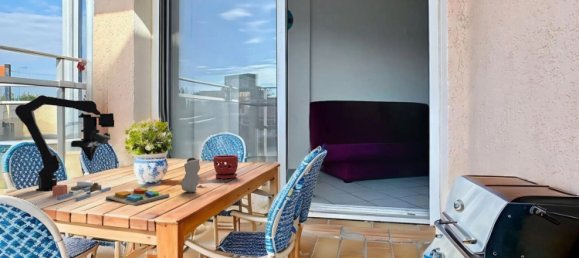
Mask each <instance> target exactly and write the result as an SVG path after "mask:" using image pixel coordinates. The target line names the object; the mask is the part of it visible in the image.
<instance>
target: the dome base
mask: <svg viewBox="0 0 579 258" xmlns="http://www.w3.org/2000/svg"><path fill="white" fill-rule="evenodd" d="M87 187H90V186H87ZM87 187H78V186H77V185H74V186H71V187H70V190H75V191H78V190H80V188H87Z"/></svg>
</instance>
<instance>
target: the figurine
mask: <svg viewBox="0 0 579 258" xmlns="http://www.w3.org/2000/svg"><path fill="white" fill-rule="evenodd" d="M183 165H184V167H183V168H184V171H185V174H184V177H183V178H182V180H181V183H180V184H181V186H180V187H181V189H182V191H184V192H188V193H196V192H197V187H198V185H199V181H200V179H201V178H200V175H199V174H198V173H199V172H200V170H201V165H200V159H197V158H195V157H190V158H188V159H187V160H186V162H185V163H184V164H183Z"/></svg>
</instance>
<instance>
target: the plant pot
mask: <svg viewBox="0 0 579 258" xmlns="http://www.w3.org/2000/svg"><path fill="white" fill-rule="evenodd" d="M213 167H214V170H215V171H214V172H215V174H214V175H215V177H216V178H217V179H218V178H221V180H228V179H227V178H233V179H235V178H236V177H237V176H238V173H236V172H237V171H238V167H239V156H238V155H235V154H234V155H233V154H226V155H225V154H224V155H221V154H220V155H215V156H213ZM234 177H235V178H234Z"/></svg>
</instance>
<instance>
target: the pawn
mask: <svg viewBox="0 0 579 258" xmlns="http://www.w3.org/2000/svg"><path fill="white" fill-rule="evenodd" d="M97 189H102V184H99V183H98V182H93V185H91V186H90V191H89V192H90V193H91V192H94V191H97Z"/></svg>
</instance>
